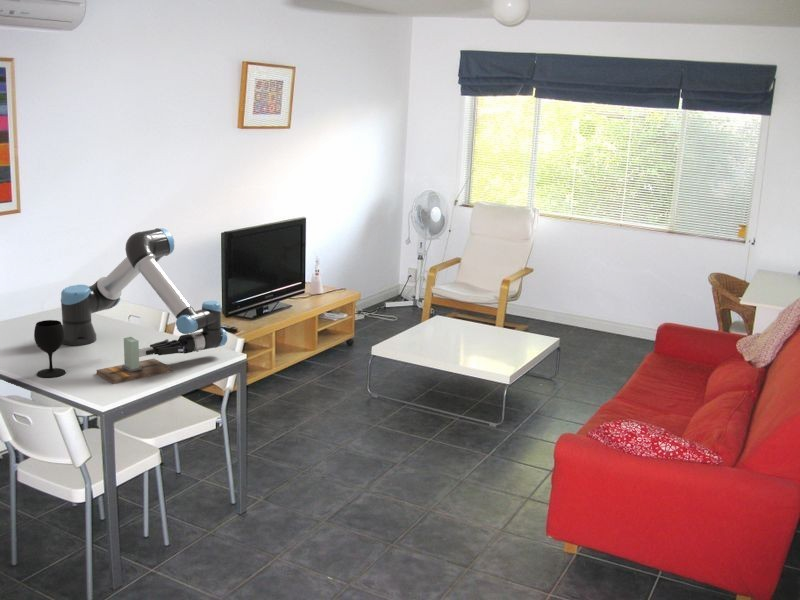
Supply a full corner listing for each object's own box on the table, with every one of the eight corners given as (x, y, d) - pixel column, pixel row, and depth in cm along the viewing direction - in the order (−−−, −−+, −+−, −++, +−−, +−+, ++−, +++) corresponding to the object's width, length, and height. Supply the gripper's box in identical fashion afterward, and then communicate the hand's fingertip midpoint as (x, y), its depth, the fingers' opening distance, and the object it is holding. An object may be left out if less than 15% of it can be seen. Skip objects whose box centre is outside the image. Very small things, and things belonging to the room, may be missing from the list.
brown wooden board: (113, 383, 310) (113, 379, 310) (96, 373, 320) (96, 369, 319) (171, 371, 327) (171, 367, 326) (154, 362, 336) (153, 358, 336)
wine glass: (62, 378, 314) (59, 327, 309) (33, 378, 312) (30, 327, 307) (68, 368, 323) (66, 319, 319) (40, 369, 322) (37, 319, 317)
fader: (130, 371, 318) (129, 342, 315) (121, 367, 323) (120, 338, 320) (142, 369, 321) (141, 340, 319) (133, 364, 326) (132, 336, 323)
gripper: (199, 355, 334) (145, 367, 318) (182, 347, 343) (129, 358, 327) (199, 337, 332) (145, 348, 316) (182, 330, 341) (128, 340, 325)
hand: (137, 353), depth 321 cm, fingers closed
